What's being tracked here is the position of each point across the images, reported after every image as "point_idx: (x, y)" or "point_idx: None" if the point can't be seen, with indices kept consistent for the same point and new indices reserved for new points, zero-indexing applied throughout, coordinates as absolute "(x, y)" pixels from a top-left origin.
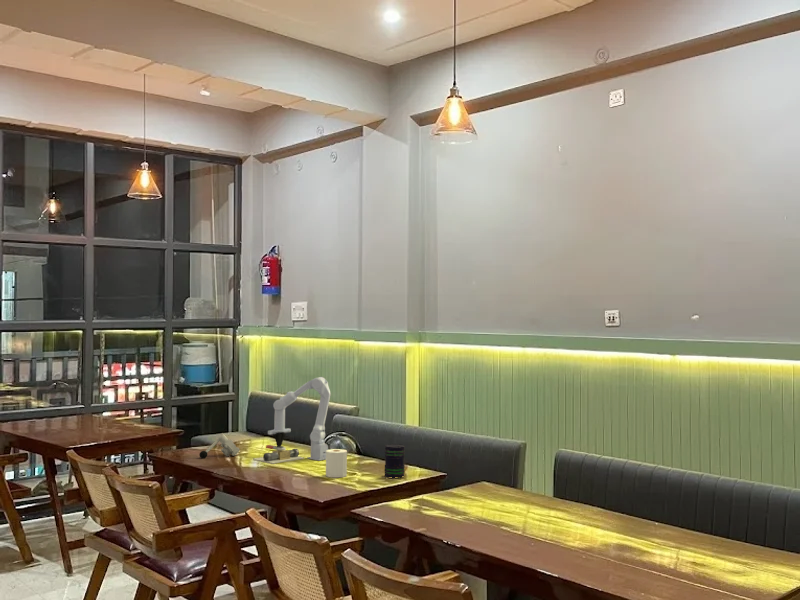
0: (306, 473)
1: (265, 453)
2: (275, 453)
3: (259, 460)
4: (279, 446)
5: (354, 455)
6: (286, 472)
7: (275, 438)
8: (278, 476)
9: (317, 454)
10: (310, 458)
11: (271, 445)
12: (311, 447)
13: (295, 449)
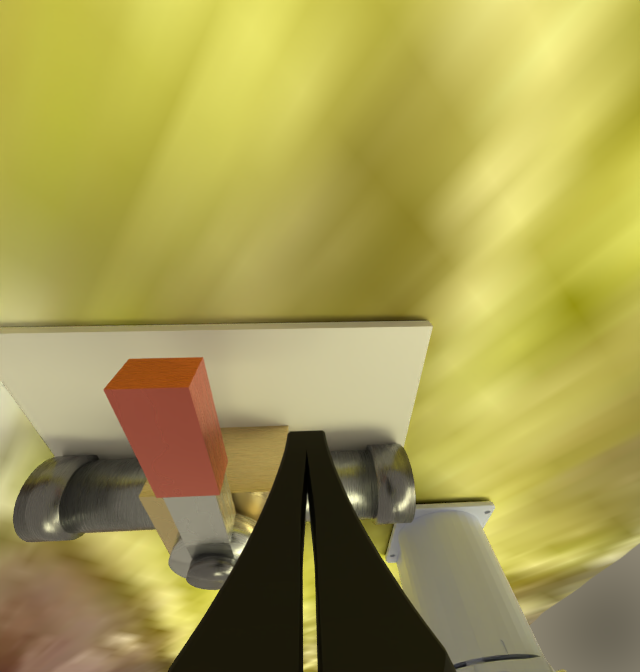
0: (161, 640)
1: (19, 529)
2: (140, 529)
3: (30, 413)
4: (195, 571)
5: (629, 545)
6: (92, 619)
7: (240, 572)
8: (30, 638)
9: (406, 585)
10: (394, 527)
11: (183, 442)
12: (425, 617)
13: (387, 523)
